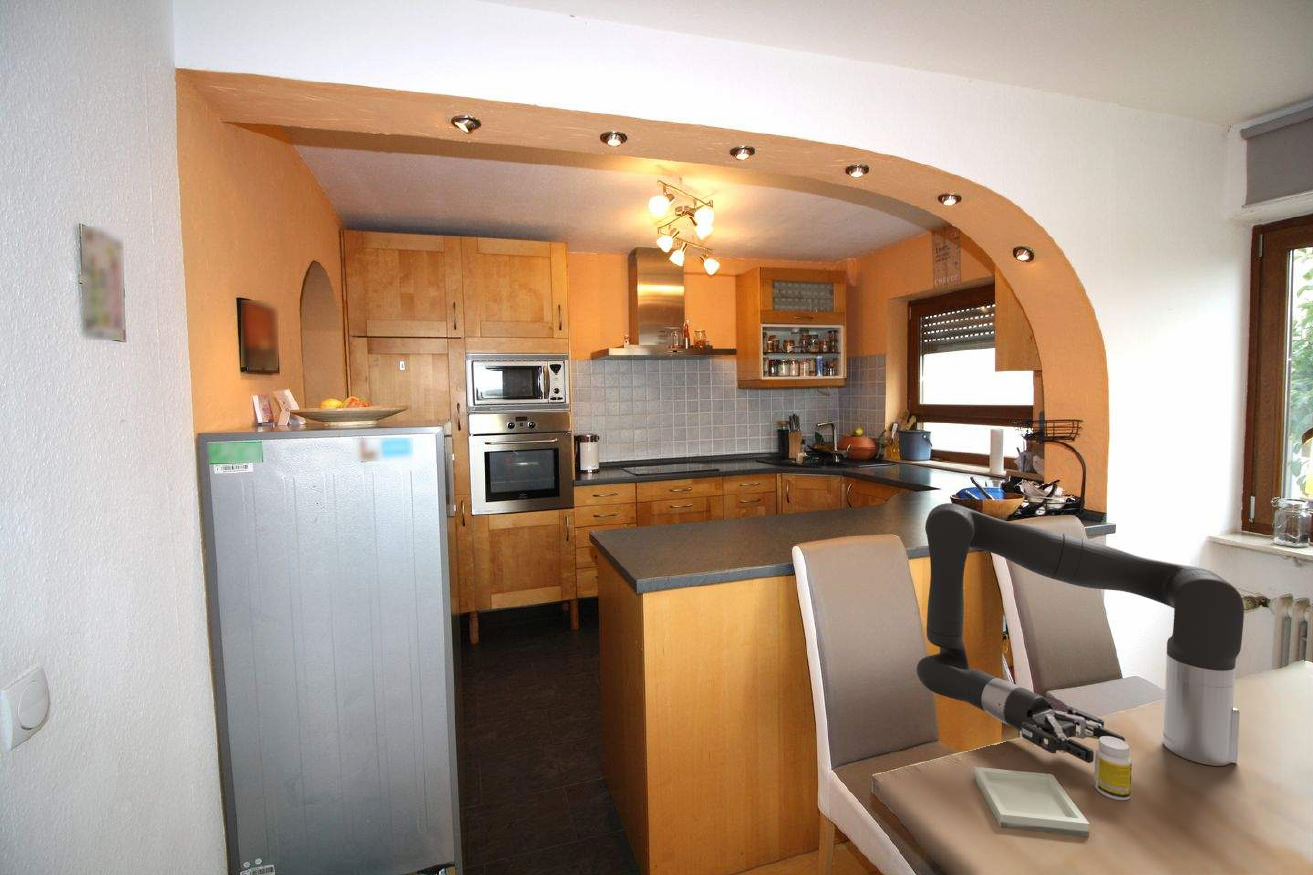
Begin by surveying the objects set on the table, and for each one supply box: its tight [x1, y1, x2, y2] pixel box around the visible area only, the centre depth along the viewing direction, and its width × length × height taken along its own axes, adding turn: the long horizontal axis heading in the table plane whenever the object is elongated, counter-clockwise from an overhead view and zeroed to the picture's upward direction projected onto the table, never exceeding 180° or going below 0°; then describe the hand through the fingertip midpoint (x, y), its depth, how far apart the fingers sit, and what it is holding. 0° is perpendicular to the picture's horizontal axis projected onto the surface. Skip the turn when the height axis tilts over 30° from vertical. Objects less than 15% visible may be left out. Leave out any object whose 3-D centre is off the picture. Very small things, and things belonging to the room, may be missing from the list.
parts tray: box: [974, 766, 1090, 838], centre depth 96 cm, size 12×12×2 cm
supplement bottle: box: [1094, 736, 1133, 801], centre depth 99 cm, size 5×5×8 cm
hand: (1108, 750), depth 99 cm, fingers open, 8 cm apart
